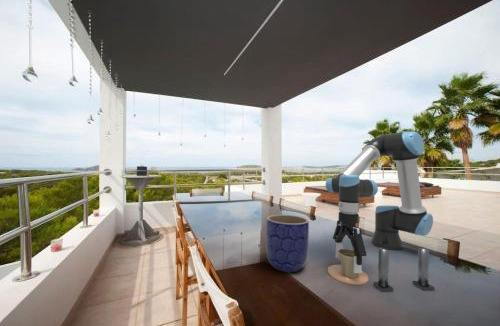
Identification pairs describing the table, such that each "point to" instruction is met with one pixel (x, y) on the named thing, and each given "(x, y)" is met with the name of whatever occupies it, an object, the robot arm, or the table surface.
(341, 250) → the flower pot
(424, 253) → the post
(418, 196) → the robot arm
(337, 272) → the saucer
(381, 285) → the post
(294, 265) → the planter
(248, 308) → the table surface
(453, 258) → the table surface
